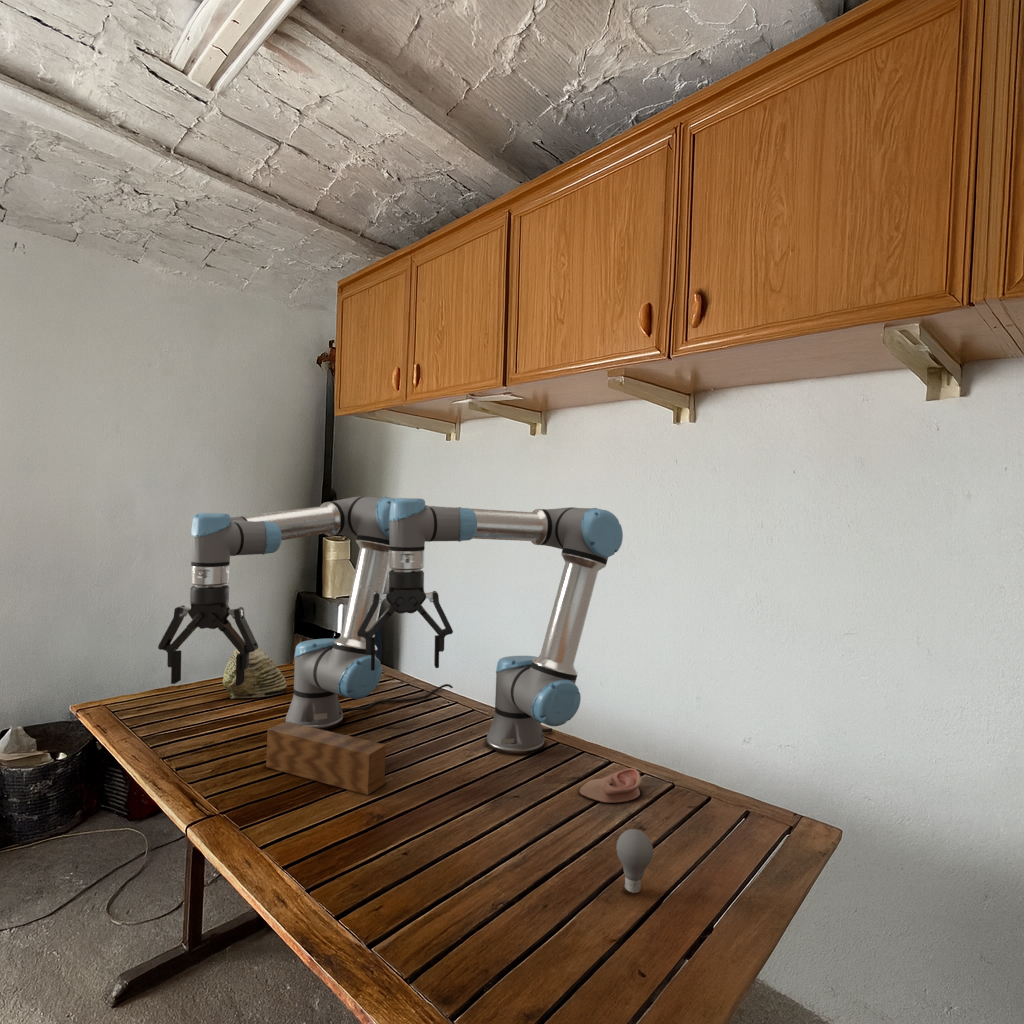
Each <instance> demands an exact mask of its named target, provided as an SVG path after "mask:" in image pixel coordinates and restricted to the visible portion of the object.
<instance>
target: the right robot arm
mask: <svg viewBox="0 0 1024 1024" xmlns="http://www.w3.org/2000/svg"><path fill="white" fill-rule="evenodd" d="M622 527H623V526H622V525H621V523H620V521H619V519H618V517H617V516H616V515H615V514H614V513H613V512H611V511H610V510H607V509H601V508H598V507H592V508H591V507H571V506H570V507H559V508H535V509H534V510H532V512H531V511H517V510H503V509H502V510H501V509H499V510H498V509H487V508H485V509H483V508H470V507H461V506H458V507H453V506H438V505H437V506H435V505H426V500H425V499H424V498H420V497H419V498H417V497H416V498H415V497H414V498H412V497H411V498H409V497H395V499H393V500H392V501H391V505H390V515H389V538H390V546H389V549H390V550H389V568H388V569H390V570H389V571H388V590H387V592H386V593H384V592H383V593H379V592H377V591H376V592H375V593H374V597H373V602H372V604H371V606H370V608H369V610H368V612H367V614H366V616H365V618H364V620H363V621H362V623H361V625H360V627H359V629H358V632H357V635H358V636H359V637H363V638H365V639H366V654H371V670H375V645H376V636H375V635H376V634H377V632H378V631H379V630H380V629H381V628H382V627H383V626H384V624H385V623H386V622H387V621H388V620H389V619H390V617H392V616H393V614H394V613H397V614H399V615H402V614H406V613H407V614H414V613H416V612H418V614H419V615H420V616H421V617H422V618H423V619H424V620H425V621H426V623H427V624H428V625H429V626H430V627H431V628H432V629H433V630H434V632H435V633H436V635H434V655H433V657H434V659H433V662H434V663H433V664H434V668H435V669H439V668H440V652H441V653H443V652H444V651H445V638H446V637H447V636H449V635H452V634H453V633H454V630H453V627H452V626H451V624H450V621H449V620H448V617H447V616H446V614H445V612H444V609H443V607H442V605H441V604H440V599H439V598H440V597H439V593H438V591H437V590H432V591H431V592H430V591H429V592H425V571H424V570H422V569H424V568H425V549H426V548H425V545H426V542H427V543H428V542H429V543H430V542H459V543H461V542H465V541H471V540H473V539H474V540H496V541H521V542H522V541H523V542H531V543H532V544H533V545H535V546H546V547H552V548H555V549H559V550H561V554H560V555H561V557H562V559H563V561H564V566H563V569H562V572H561V576H560V579H559V583H558V588H557V591H556V594H555V599H554V601H553V602H554V603H553V606H552V610H551V614H550V617H549V621H548V625H547V629H546V633H545V636H544V640H543V643H542V646H541V651H540V654H539V655H538V656H535V655H507V656H504V657H501V658H499V659H498V661H497V663H496V670H495V674H496V675H495V701H494V714H493V718H492V720H491V724H490V726H489V729H488V731H487V734H486V745H487V746H488V748H490V749H491V750H493V751H496V752H498V753H502V754H507V755H531V754H534V753H537V752H539V751H541V750H543V749H544V747H545V735H544V733H552V732H553V731H554V730H553V728H552V727H560V726H562V725H565V724H566V723H568V722H569V721H570V720H572V719H573V717H575V715H576V714H577V712H578V710H579V709H580V705H581V700H582V699H581V697H582V696H581V692H580V688H579V687H578V685H576V682H577V678H578V674H579V673H578V671H577V669H576V667H575V662H576V658H577V653H578V651H579V646H580V642H581V638H582V634H583V630H584V627H585V623H586V621H587V620H586V618H587V615H588V613H589V608H590V605H591V600H592V598H593V593H594V589H595V585H596V582H597V577H598V574H599V572H600V571H601V570H603V569H604V568H606V567H607V563H608V559H609V558H610V557H612V556H614V555H615V554H616V553H618V551H620V548H621V546H622V544H623V540H624V539H623V538H624V534H623V528H622ZM426 599H428V601H429V603H433V605H434V608H435V611H436V612H437V614H438V617H439V618H440V620H441V623H442V624H443V626H444V628H441V626H440V625H439V624H438V623H437V621H436V620H435V619H434V618H433V617H432V616H431V615H430V613H429V612H428V611H427V610H426V609H425V607H424V606H423V604H424V602H425V601H426ZM384 600H386V601H387V602H388V604H389V606H388V607H387V608H386V610H385V611H384V612H383V613H382V614H381V615H380V617H378V620H377V621H376V622H375V624H374V625H373V626H372V627H371V628H370V629H369V631H365V630H366V628H367V626H368V624H369V622H370V620H371V618H372V616H373V615H374V613H375V611H376V609H377V607H378V604H379V603H381V604H382V603H383V601H384ZM374 634H375V635H374ZM373 636H374V637H373ZM542 724H544V725H546V726H549V727H550V728H543V727H542Z"/></svg>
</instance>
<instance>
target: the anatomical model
mask: <svg viewBox="0 0 1024 1024" xmlns="http://www.w3.org/2000/svg"><path fill="white" fill-rule="evenodd" d="M641 783H642V777H641V774H640V772H639V771H638V770H637V769H635V768H632V767H631V768H630V767H629V768H624V769H621V770H618V771H616V772H614V773H611V774H608V775H607V776H605V777H602V778H597V779H591V780H588V781H586V782H585V783H584V784H583V785H582V786H581V787H580V789H579V794H581V795H582V796H584V797H586V798H588V799H591V800H594V801H597V802H601V803H607V804H611V803H613V804H614V803H623V802H629V801H632V800H635V799H637V798H638V797H640V794H641V792H640V789H639V787H640V785H641Z"/></svg>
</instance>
